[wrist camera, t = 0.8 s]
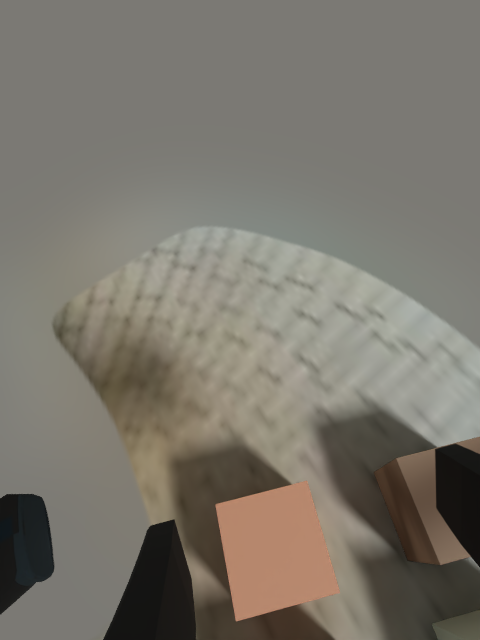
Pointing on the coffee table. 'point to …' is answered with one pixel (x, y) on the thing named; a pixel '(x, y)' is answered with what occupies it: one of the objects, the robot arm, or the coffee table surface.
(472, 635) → the sage block
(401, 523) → the walnut block
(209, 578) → the coffee table surface
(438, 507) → the robot arm
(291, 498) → the terracotta block
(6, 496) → the handgun
